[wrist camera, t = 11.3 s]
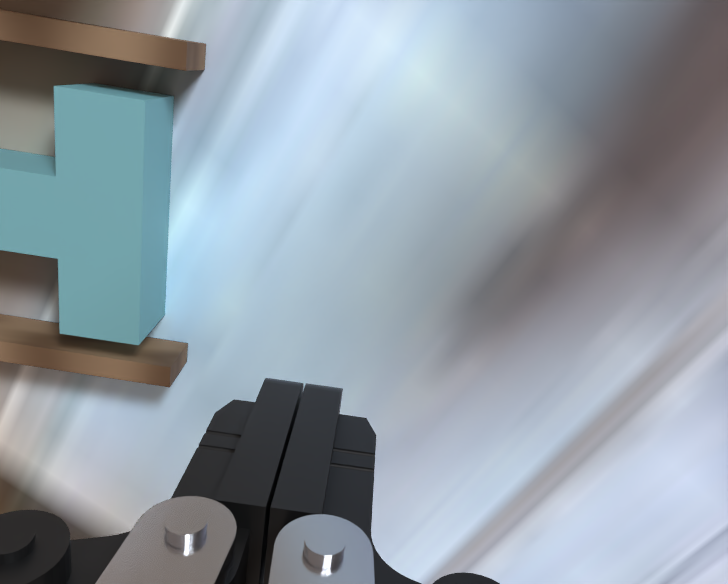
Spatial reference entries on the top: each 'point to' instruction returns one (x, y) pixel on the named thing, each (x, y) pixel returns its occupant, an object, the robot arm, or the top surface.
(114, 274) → the teal T-block
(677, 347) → the top surface
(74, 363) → the walnut dock
